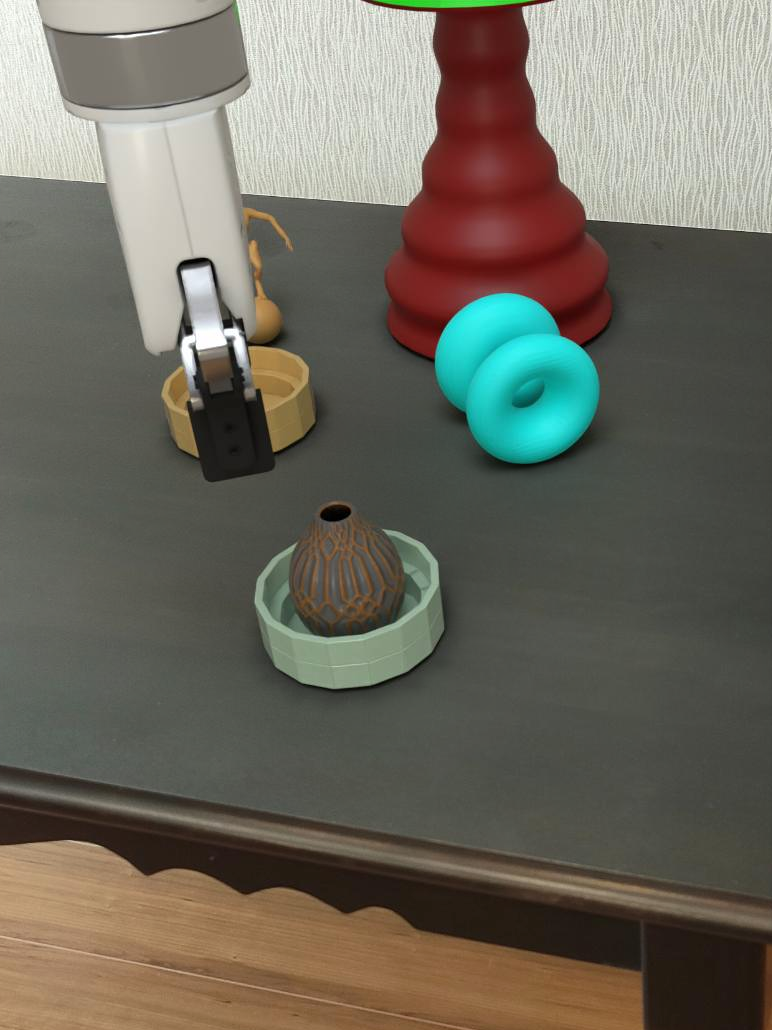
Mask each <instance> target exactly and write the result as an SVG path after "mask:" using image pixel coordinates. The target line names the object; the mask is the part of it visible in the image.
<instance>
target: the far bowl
mask: <svg viewBox="0 0 772 1030" xmlns="http://www.w3.org/2000/svg"><path fill="white" fill-rule="evenodd" d="M248 350H249V355H250V360H251V372H252V377H253V382H254V386H255V389H259V388H260V389H261V393H262V398H263V403H264V408H265V413H266V418H267V424H268V429H269V434H270V439H271V444H272V449H273V453H275V452H279V451H281V450H284V449H285V448H287V447H288V446H290V445H291V444H293V443H295V442H297V441H298V440H300V439H302V438H303V437H304V436H305V435H306V434H308V433H307V432H309V430H310V429H311V428H312V427H313V425H314V424H316V416H317V415H316V414H317V405H316V398H315V393H314V389H313V388H314V387H313V382H312V377H311V375H312V374H311V370H310V367H309V366H308V365H307V364H306V362H305V361H304V360H303V359H302V357H301V356H299V355H297V354H295V353H292V352H290V351H287V350H285V349H282V348H278V347H277V348H276V347H270V346H269V347H268V346H260V345H252V346H251V345H250V346H248ZM160 397H161V400H162V404H163V408H164V412H165V416H166V419H167V424H168V427H169V433H170V436H171V437H172V439H173V440H174V442H175V444H176V445H177V447H178V448H179V449H180V450H182V451H184V452H186V453H188V454H189V455H190V454H191V455H192V456H194V457H196V458H198V459H199V455H198V451H197V447H196V442H195V438H194V434H193V430H192V426H191V422H190V417H189V413H188V409H187V404H186V401H191V400H190V395H189V390H188V385H187V381H186V376H185V371H184V366H183V364H182V365H180V366H179V367H177V369H176V370H174V371H173V372H172V373H171V374H170V375H169V376H168V377H167V378H166V379H165V380H164V384H163V387H162V391H161V394H160Z"/></svg>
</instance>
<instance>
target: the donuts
mask: <svg viewBox="0 0 772 1030" xmlns="http://www.w3.org/2000/svg"><path fill="white" fill-rule="evenodd" d="M434 370H435V376H436V380H437V383H438V386H439V388H440V390H441V391H442V393H443V395H444V396H445V398H446V399H447V400H448V401H449V403H451V404H452V405H453V406H454V407H455V408H457V409H459V410H460V411H462V412H463V413H465V414H466V420H467V424H468V428H469V430H470V433H471V434H472V436H473V438H474V439H475V440H476V442H477V443H478V445H479V446H480V447H481V448H482V449H483V450H484V451H486V452H487V453H488V454H490V455H491V456H493V457H494V458H497V459H498V460H500V461H504V462H507V463H511V464H519V465H520V464H521V465H523V464H525V465H526V464H537V463H540V462H541V463H542V462H544V461H547V460H550V459H553V458H554V457H557V456H558V455H560V454H562V453H564V452H565V451H567V450H568V449H570V447H572V446H574V444H575V443H576V442H577V441H578V440H579V439H581V437H582V436H583V435H584V433H586V431H587V430H588V428H589V426H590V425H591V424H592V421H593V420H594V417H595V415H596V412H597V408H598V404H599V400H600V379H599V374H598V371H597V369H596V365H595V364H594V362H593V360H592V358H591V357H590V356H589V354H588V353H587V351H586V350H584V348H582V347H581V345H580V346H579V345H577V344H576V343H574V342H573V341H571V340H569V339H567V338H564V337H562V336H560V332H559V329H558V327H557V324H556V322H555V320H554V319H553V317H552V316H551V314H550V313H549V312H548V311H547V310H546V309H545V308H544V307H543V306H542V305H540V304H539V303H538V302H536V301H534V300H532V299H530V298H528V297H525V296H522V295H518V294H511V293H500V294H494V295H489V296H486V297H483V298H480V299H478V300H476V301H474V302H472V303H470V304H468V305H467V306H465V307H464V308H463V309H461V310H460V311H459V312H458V313H457V314H456V315H455V316H454V317H453V318H452V319H451V321H450V322H449V323H448V325H447V326H446V328H445V329H444V331H443V333H442V335H441V337H440V339H439V342H438V345H437V349H436V354H435V360H434Z"/></svg>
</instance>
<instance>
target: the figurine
mask: <svg viewBox="0 0 772 1030" xmlns="http://www.w3.org/2000/svg"><path fill="white" fill-rule="evenodd" d="M243 209H244V216H245V223H246V230H247V236H249V229H250V220H251V219H254V220H261V221H267V222H270V224H271V226H272V227H273V228H274V229H275V231H276V232H277V233H278V235H279V236H280V237H281V238H282V239H284V240H285V246H286V247H288V249H289V252H293V251H294V248H293V244H292V242H291V239H290V238H289V237H288V235H287V233H286V232H285V230H284V229H282V227H281V226H280V224H279V223H278V222H277V220H276V218H275V217H274V216H273V215H271V214H269V213H265V212H262V211H258V210H255V209H253V208H251V207H245V206H243ZM248 244H249V252H250V260H251V266H252V267H254V269H255V271H254V272H253V277H254V283H255V288H256V289H255V290H256V294H257V296H254V297H255V307H256V318H257V328H258V330H257V331H256V332H255V334H254V335H253V336H252V338H251V339H249V340H248V341H247V342H249V343H251V344H255V345H262V344H267V343H270V342H271V341H273V340H274V339H275V338H276V337H277V336H279V334H280V332H281V330H282V326H283V316H282V312H281V311H280V309H279V307H278V305H276V304H275V302H273V301H272V300H270V299H268V297H267V295H265V293H264V289H263V286H262V282H261V278H262V277H263V273H262V270H263V263H262V258H261V254H260V253H259V244H258V242H257V241H256V240H255V239H252V240H251V241H250V242H249V241H248Z"/></svg>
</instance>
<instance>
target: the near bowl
mask: <svg viewBox="0 0 772 1030" xmlns="http://www.w3.org/2000/svg"><path fill="white" fill-rule="evenodd" d="M381 529H382V530H383V531H384V532H385V533H386V534H387V535H388V536H389V538H390V539H391V540H392V542H393V544H394V545H395V547H396V549H397V551H398V553H399V555H400V558H401V561H402V564H403V568H404V574H405V597H404V602H403V606H402V609H401V612H400V614H399V616H398V619H397V620H396V622H395V623H393V624H390V625H387V626H385V627H382V628H379V629H376V630H374V631H371V632H368V633H365V634H362V635H352V636H341V637H331V638H326V637H320V636H315V635H313V634H312V633H311V632H310V631H309V630H308V629H307V628H306V627H305V626H304V624H303V623H302V621H301V620H300V618H299V617H298V615H297V613H296V611H295V609H294V606H293V603H292V599H291V595H290V590H289V580H288V575H289V566H290V561H291V556H292V553H293V551H294V548H295V546H296V544H297V543H298V541H297V542H295V543H294V544H292V545H290V546H289V547H288V548H286V549H284V550H283V551H281V552H279V553H278V554H277V555H275V556H274V557H273V558H272V559H271V560H270V561H269V562H268V564H267V565H266V567H265V568H264V569H263V571H262V572H261V573H260V574H259V576H258V577H257V578H256V585H255V586H256V587H255V593H254V598H253V599H254V600H253V603H254V608H255V612H256V616H257V621H258V624H259V628H260V634H261V639H262V642H263V646H264V648H265V650H266V652H267V654H268V656H269V658H270V660H271V662H272V663H273V666H274V667H275V668H276V669H278V670H279V671H281V672H282V673H284V674H286V675H287V676H289V677H291V678H292V679H294V680H296V681H297V682H299V683H301V684H305V685H311V686H315V687H321V688H326V689H331V690H339V689H340V690H341V689H349V688H359V687H360V688H361V687H370V686H374V685H377V684H379V683H381V682H385V681H387V680H389V679H392V678H394V677H398V676H401V675H404V674H405V673H407V672H409V671H410V670H411V669H413V668H414V667H416V666H417V665H418V664H419V663H420V662H422V661H423V660H424V659H426V658H427V657H428V656H429V655H430V654H432V653H433V651H434V649H435V647H436V645H437V644H438V642H439V640H440V639H441V636H442V634H443V633H444V631H445V617H444V602H443V595H442V586H441V578H440V577H441V576H440V567H439V562H438V560H437V559H436V557H435V556H434V555H433V554H432V553H431V551H430V550H429V549H428V548H427V546H426V545H425V544H424V543H422V541H421V542H420V541H418V540H416V539H415V538H413V537H410V536H408V535H406V534H404V533H402V532H400V531H397V530H391V529H386V528H385V529H384V528H381Z"/></svg>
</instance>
